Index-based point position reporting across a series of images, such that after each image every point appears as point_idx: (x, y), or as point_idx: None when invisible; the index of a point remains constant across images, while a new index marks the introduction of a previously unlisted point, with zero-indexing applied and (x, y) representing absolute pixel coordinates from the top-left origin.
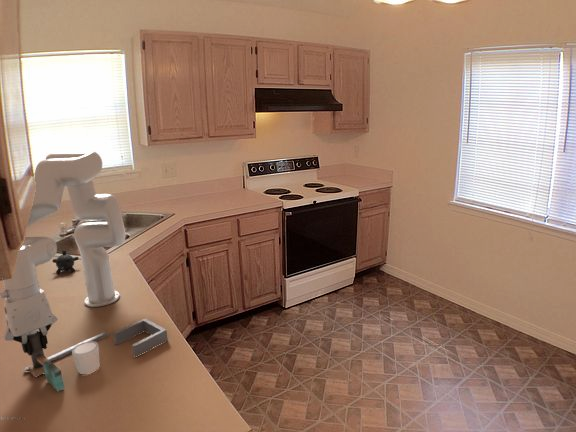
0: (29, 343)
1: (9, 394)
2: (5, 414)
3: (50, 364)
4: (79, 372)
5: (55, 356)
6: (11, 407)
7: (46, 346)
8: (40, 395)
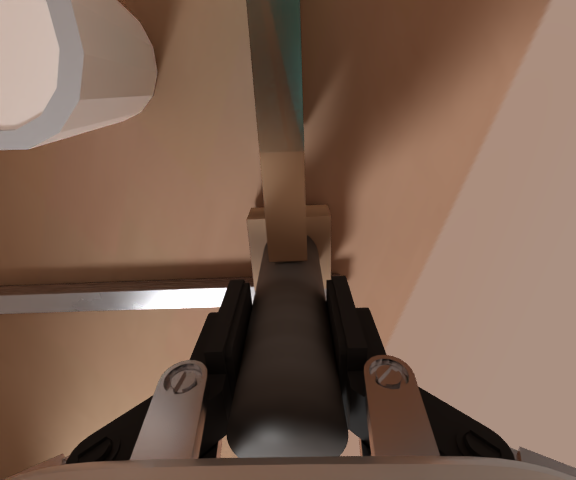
0: (344, 340)
1: (447, 175)
2: (543, 6)
3: (271, 67)
4: (147, 43)
5: (212, 288)
6: (496, 49)
7: (229, 285)
8: (366, 29)
